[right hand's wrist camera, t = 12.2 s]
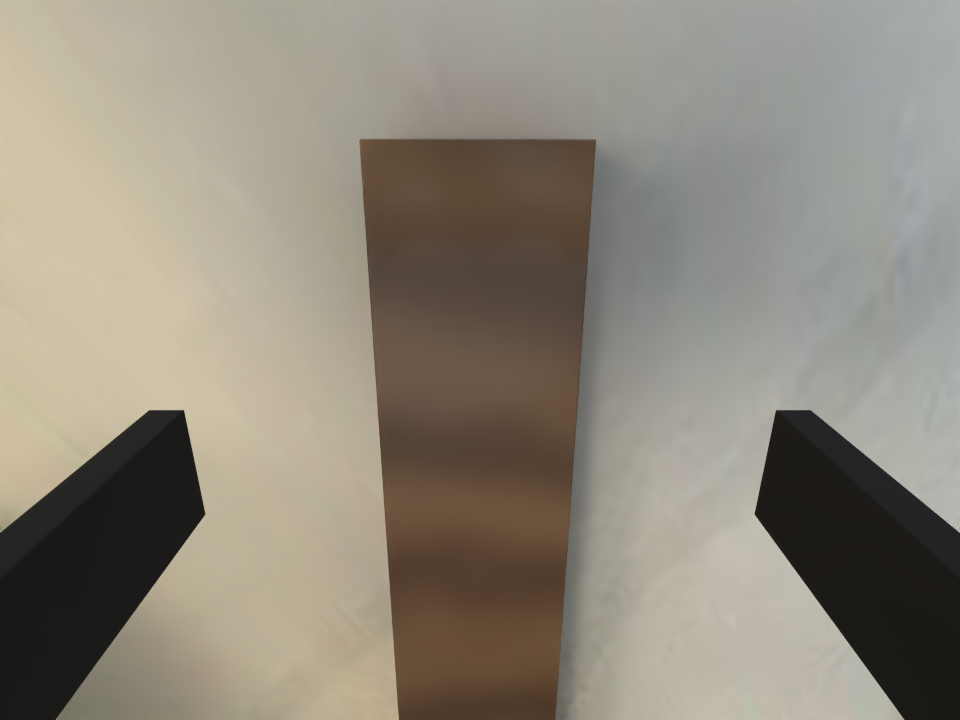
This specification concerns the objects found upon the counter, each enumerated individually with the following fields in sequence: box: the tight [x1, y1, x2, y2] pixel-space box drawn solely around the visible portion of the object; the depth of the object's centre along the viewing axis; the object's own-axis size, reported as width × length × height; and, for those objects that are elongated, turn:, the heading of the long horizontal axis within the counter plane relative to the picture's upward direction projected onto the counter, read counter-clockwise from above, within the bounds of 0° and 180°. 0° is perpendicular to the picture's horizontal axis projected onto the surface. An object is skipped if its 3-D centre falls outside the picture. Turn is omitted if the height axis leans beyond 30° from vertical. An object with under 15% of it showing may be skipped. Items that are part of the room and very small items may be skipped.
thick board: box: [360, 139, 596, 720], centre depth 40 cm, size 66×10×7 cm, turn 0°
